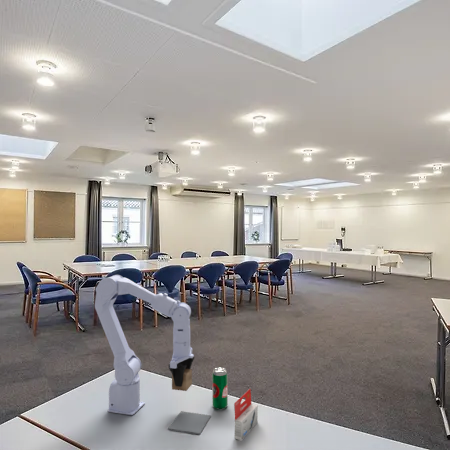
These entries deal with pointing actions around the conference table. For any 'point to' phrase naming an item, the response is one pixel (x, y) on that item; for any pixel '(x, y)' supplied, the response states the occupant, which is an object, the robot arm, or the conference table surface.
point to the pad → (189, 422)
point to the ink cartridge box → (244, 416)
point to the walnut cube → (184, 381)
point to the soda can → (219, 388)
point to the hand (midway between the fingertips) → (181, 382)
